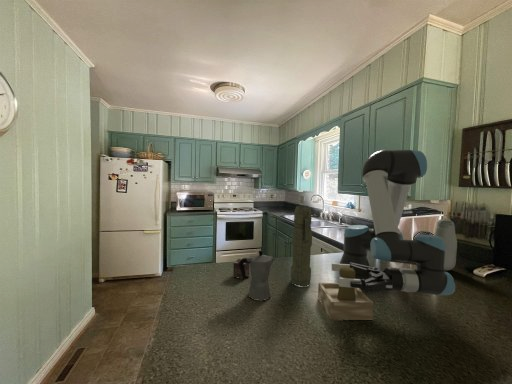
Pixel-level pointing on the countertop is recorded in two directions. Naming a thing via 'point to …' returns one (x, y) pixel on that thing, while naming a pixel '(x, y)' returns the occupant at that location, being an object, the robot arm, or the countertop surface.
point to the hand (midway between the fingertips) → (335, 273)
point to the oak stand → (344, 303)
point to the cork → (346, 292)
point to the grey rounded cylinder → (448, 241)
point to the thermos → (301, 246)
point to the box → (237, 269)
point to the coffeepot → (258, 275)
